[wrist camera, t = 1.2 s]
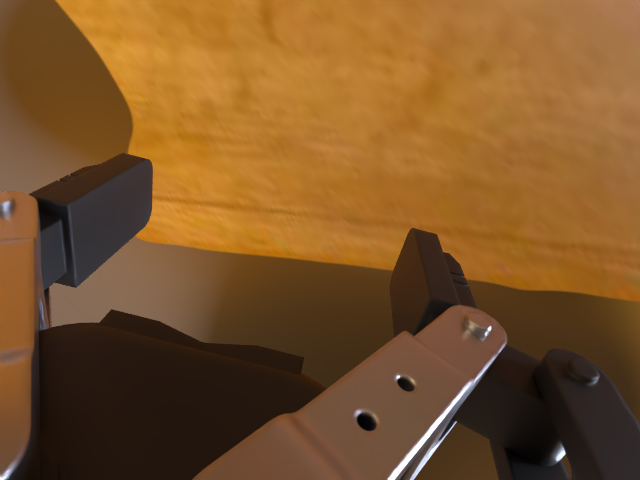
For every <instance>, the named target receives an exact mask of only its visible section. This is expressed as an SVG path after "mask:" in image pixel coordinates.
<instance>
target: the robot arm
mask: <svg viewBox="0 0 640 480" xmlns="http://www.w3.org/2000/svg"><path fill="white" fill-rule="evenodd" d="M152 178H153V168H152V163H151V161H150V160H149V159H145V158H141V157H137V156H133V155H129V154H125V153H122V154H119V155H117V156H115V157H113V158H111V159H109V160H108V161H106V162H103V163H102V164H99V165H94V166H89V167H84V168H82V169H79V170H77V171H75V172H73V173H71V174H70V176H69V175H67V176H65V177H63V178H61V179H60V181H55V182H53V183H51V184H49V185H47V186H45V187H43V188H40V189H38V190H37V191H34V192H33V193H30V194H25V193H21V192H15V191H0V480H414V478H415V477H416V476H417V474H418V473H419V471H420V470H421V469H422V467H423V466H424V464H425V463H426V462H427V461H428V459H429V458H430V457H431V455H432V454H433V453H434V451H435V450H436V449H437V447H438V446H439V445H440V443H441V442H442V441H443V439H444V438H445V437H446V435H447V434H448V433H449V431H450V430H451V428H452V427H453V426H454V425H455V423H456V422H458V423H460V424H462V425H464V426H466V427H468V428H469V429H471V430H473V431H475V432H477V433H479V434H481V435H482V436H484V437H486V438H488V439H489V440H490V445H491V449H492V453H493V457H494V461H495V465H496V469H497V474H498V478H499V480H570V479H569V476H568V474H567V471H566V469H565V466H564V464H563V461H562V459H561V458H562V457H563V456H564V455H565V454H566V455H567V458H568V460H569V463H570V466H571V470H572V480H640V425H639V423H638V422H637V420H636V419H635V417H634V416H633V414H632V412H631V411H630V409H629V408H628V406H627V405H626V403H625V402H624V400H623V398H622V397H621V395H620V394H619V392H618V391H617V389H616V387H615V386H614V384H613V383H612V381H611V380H610V379H609V378H608V376H607V375H606V374H605V373H604V372H603V371H602V370H601V369H599V368H598V367H597V366H596V365H594V364H593V363H592V362H590V361H589V360H587V359H585V358H584V357H582V356H580V355H578V354H576V353H573V352H571V351H567V350H564V349H552V350H549V351H548V352H547V353H546V355H545V356H544V358H543V359H542V360H541V361H539V360H537V359H535V358H533V357H531V356H529V355H526V354H524V353H522V352H520V351H518V350H516V349H514V348H512V347H510V346H508V345H507V344H506V343H507V335H506V332H505V331H504V329H503V328H502V327H501V326H500V324H499V323H498V322H497V321H496V320H494V319H493V318H492V317H490V316H489V315H487V314H486V313H484V312H482V311H480V310H478V309H477V306H476V304H475V301H474V299H473V296H472V294H471V291H470V289H469V286H467V285H468V284H467V281H466V279H465V277H464V274H463V271H462V269H461V266H460V264H459V263H458V262H457V261H456V260H455V259H454V258H453V257H452V256H451V255H450V254H449V253H445V252H443V251H442V248H441V245H440V242H439V239H438V236H437V234H434V233H430V232H426V231H422V230H418V229H415V228H412V229H411V230H410V231H409V233H408V235H407V237H406V240H405V242H404V245H403V248H402V250H401V253H400V255H399V258H398V260H397V263H396V265H395V268H394V271H393V274H392V277H391V283H390V296H391V307H392V318H393V329H394V339H393V340H391V341H390V342H388V343H387V344H386V345H384V346H383V347H382V348H380V349H379V350H378V351H376V352H375V353H374V354H372V355H371V356H370V357H368V358H367V359H366V360H364V361H363V362H362V363H361V364H359V365H358V366H357V367H356V368H354V369H353V370H351V371H350V372H349V373H347V374H346V375H345V376H343V377H342V378H341V379H339V380H338V381H337V382H336V383H334V384H333V385H332V386H330V387H329V388H328V389H326V388H325V387H324V386H322V385H321V384H320V383H319V382H317V381H315V380H314V379H312V378H311V377H309V376H307V375H305V374H303V373H301V370H302V365H303V359H304V358H303V357H300V356H296V355H292V354H288V353H284V352H280V351H276V350H272V349H268V348H264V347H260V346H253V345H233V344H213V343H212V344H211V343H204V342H200V341H198V340H196V339H194V338H192V337H190V336H188V335H186V334H184V333H182V332H180V331H178V330H176V329H174V328H172V327H170V326H168V325H166V324H163V323H162V322H160V321H156V320H152V319H148V318H144V317H140V316H136V315H132V314H128V313H124V312H120V311H116V310H111V311H110V312H109V313H108V314H107V315H106V316H105V317H104V318H103V319H102V320H101V321H100V323H76V324H67V325H62V326H56V327H52V317H51V296H50V289H49V286H51V285H52V284H53V283H54V282H55V283H59V284H63V285H67V286H71V287H75V288H76V287H77V286H79V285H80V284H81V283H82V282H83V281H84V280H85V279H86V278H88V277H89V276H90V275H91V274H92V273H93V272H94V271H95V270H96V269H98V268H99V267H100V266H101V265H102V264H103V263H104V262H106V260H108V259H109V258H110V257H111V256H112V255H113V254H115V252H117V251H118V250H119V249H120V248H121V247H122V246H124V244H126V243H127V242H128V241H129V240H130V239H131V238H133V237H134V236H135V235H136V234H137V233H138V232H139V231H140V230H142V229H143V228H144V227H145V226H146V224H147V223H148V221H149V218H150V216H151V211H152Z"/></svg>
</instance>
